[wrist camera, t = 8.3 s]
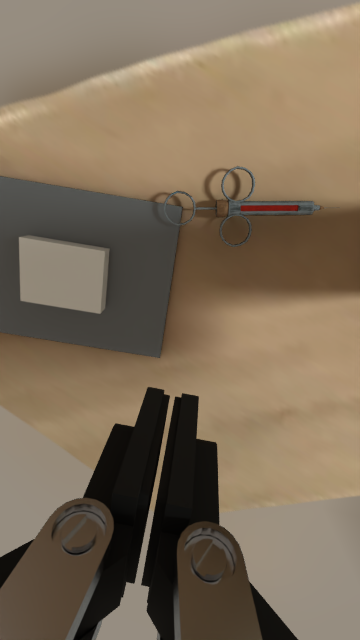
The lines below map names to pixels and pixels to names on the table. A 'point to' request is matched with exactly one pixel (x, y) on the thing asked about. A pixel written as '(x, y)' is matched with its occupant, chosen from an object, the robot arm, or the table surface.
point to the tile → (63, 273)
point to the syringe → (251, 207)
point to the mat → (123, 270)
